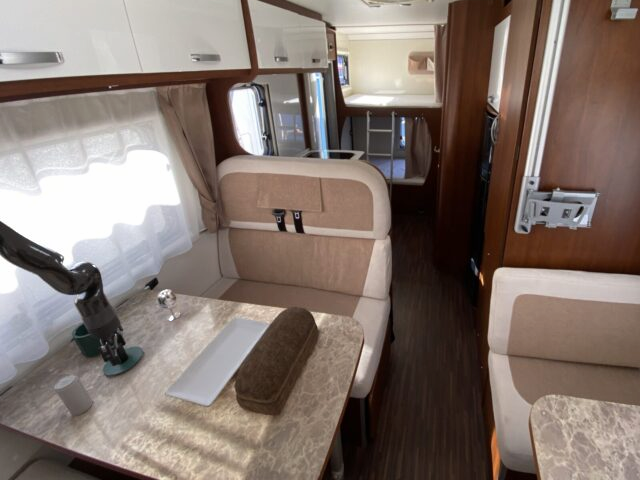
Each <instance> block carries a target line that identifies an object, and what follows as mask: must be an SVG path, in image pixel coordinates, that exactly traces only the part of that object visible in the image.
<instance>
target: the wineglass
mask: <svg viewBox="0 0 640 480" xmlns="http://www.w3.org/2000/svg"><path fill="white" fill-rule="evenodd" d="M176 302H177V296H176V294H175V293H174V292H173V290H172V289H170V288H168V289H164V290H162V291H160V292H159V293H158V294H157V303H158V305H159V306H160V307H161V308H162V309H169V310H170V313H171V314H169V315H168V316H167V320H168V321H174V320H177V319H178V318H179V317H180V316H181V312H179V311H175V312H174V311H173V306H174V305H175V303H176Z"/></svg>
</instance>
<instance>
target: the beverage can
mask: <svg viewBox="0 0 640 480" xmlns="http://www.w3.org/2000/svg"><path fill="white" fill-rule="evenodd" d="M53 385H54V386H53V389H54V392H55V394H57V396H58V397H59V399H60V400H61V401H62V403H63V404H64V406H65V407H66V409H67V410H68V412H69V413H70V415H71V416H81V415H82V414H84V413H86V412H87V411H88V410H90V408H91V407H92V405H93V402H94V401H93V399H92V397H91V396H90V393H88V391H87V389H86V387H85V386H84V384H83V383H82V381H81V380H80V378H79V376H77V375H76V374H74V373H73V374H72V373H70V374H68V375H64V376H63V377H61V378H60V379H59V380H58V381H56V382H55V384H53Z"/></svg>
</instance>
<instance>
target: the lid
mask: <svg viewBox="0 0 640 480" xmlns="http://www.w3.org/2000/svg"><path fill="white" fill-rule="evenodd" d="M117 345H118V348H117V349H116V350H117V354H118V356H119V358H120V360H121V363H120V364H119V365H116V366H112V364H111V362H110V361H108V362H105V364H103V368H102V373H103V374H104V375H105V376H108V377H113V376H118V375H120V374H123V373H125V372H128V371H129V370H130V369H132V368H133V367H134V366H135V365H137V364H138V363H139V362H140V360H141V359H142V357H143V355H144V350H143V348H142V347H140V346H129V347H127V348H125V347H124V346H123V345H122V344H121V343H117ZM112 347H114V345H113V346H112ZM112 347H111V348H112ZM112 351H113V350H112Z"/></svg>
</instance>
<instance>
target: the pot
mask: <svg viewBox="0 0 640 480" xmlns="http://www.w3.org/2000/svg"><path fill="white" fill-rule="evenodd" d="M70 335H71V337H72V339H73V341H74V342H75V345H77V348H78V349H79V351H80V352H81V354H82V355H83V356H84V357H85V358H94V357H97V356H101V354H100V352H99V350H98V348H99V347H101V346H102V344H101V343H100V339H94V338H92V337H91V336H90V334H89V332H88V330H87V329H86V327H85V325H84V323H83V322H82V323H80V324H79V325H77V326H76V327H75V328H74V329H73V330H72V332H71V334H70ZM112 346H113V345H112ZM112 346H111V347H112Z"/></svg>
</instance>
